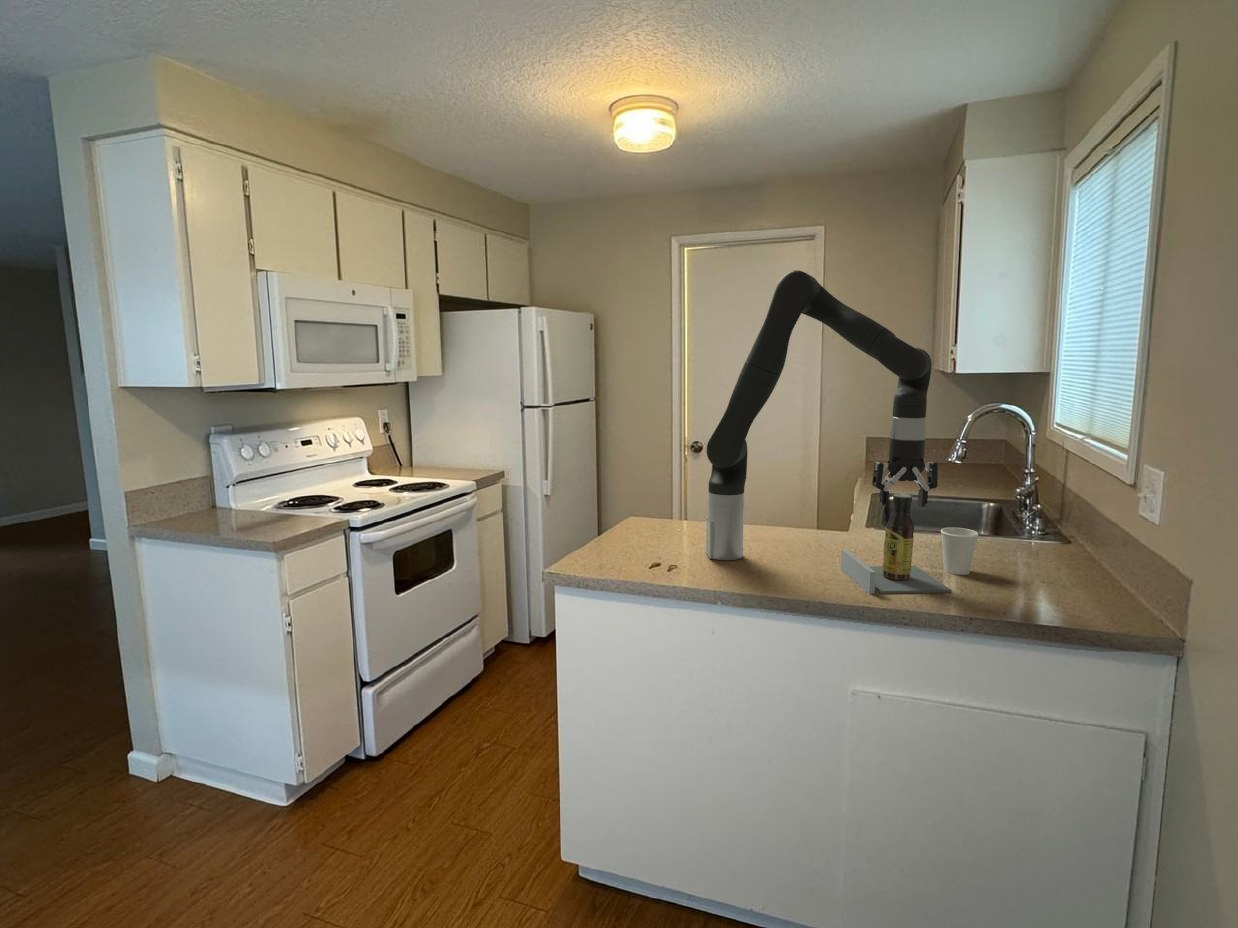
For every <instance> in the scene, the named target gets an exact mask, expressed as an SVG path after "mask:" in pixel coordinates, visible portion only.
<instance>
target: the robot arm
mask: <svg viewBox="0 0 1238 928" xmlns="http://www.w3.org/2000/svg"><path fill="white" fill-rule="evenodd" d="M801 315H804V316H807V317H810V318H812V319H814V320H817V321H818V322H821V323H822V324H823V325H826V326H827V327H829V328H830V329H831V330H833V331H834V332H836V334H838V335H839V336H840V337H842V338H843V339H844V340H845V341H846V342H848V343H849V344H851V345H852V346H853V347H855V348H857V349H858V350H860V351H861V352H863V353H864V354H866V355H868V356H869V357H871V358H873V359H875V360H876V361H878V362H879V363H880V364H881V365H882V366H884V367H885V368H886V369H887V370H889V371H890V372H891V373H892V374H894V375H896V377H898V381H897V382H898V383H897V390H896V392H895V394H894V398H893V405H892V418H891V422H890V431H889V446H888V447H889V451H888V461H887V462H880V461H878V460H877V461H875V462H874V465H873V472H872V473H873V474H872V482H871V485H872V487H874V488H876V489H879V503H880V505H881V507H883V508H888V507H889V505H890V504H889V501H890V500H889V499H890V491H889V490H890V489H891V487H893V485H895V484H896V483H897V482H898V481H899V482H905V481H908V482H915V484H916V485H917V486H918V487H919V489H918V493H917V506H918V507H920V508H924V507H926V505H927V503H928V497H929V491H930V490H932V489H937V488H938V480H939V479H938V471H939V470H938V468H939V467H938V463H937V462H935V461H932V460H931V461H928V462H925V461H924V460H925V459H924V458H925V451H926V439H927V438H926V435H927V421H926V420H927V419H926V418H927V408H928V407H927V405H928V404H927V402H928V401H927V400H928V399H927V398H928V397H927V396H928V391H929V390H928V389H929V386H930V381H931V375H932V359H931V356H930V354H929V353H928V351H926V350H925V349H923V348H919V347H914V346H912V345H910V344H909V343H907V342H905V341H904V340H902V339H901V338H898V337H897V336H896V334H895V333H894V332H892V331H891V330H890V329H888V328H887V327H885V326H884V325H882V324H880V323H879V322H877V321H875V320H874V319H872V318H870V317H869V316H867V315H865V314H863V313H861V312H859V311H857V310H855V309H854V308H851V307H850V306H848V305H847V304H845V303H843V302H842V301H841V300H839V299H838V298H836V297H835V296H834V295H832V294H831V293H830V292H829V291H828V290H827V289H826V288H824V287H823V286H822V285H821V283H819V282H818V280H817V279H816V278H815V277H814V276H812V275H811V274H808V273H807V272H805V271H803V270H792V271H789V272H787V273H786V274H784V275H783V276H782V277H781V278H780V280H779V281H778V282H777V284H776V286H775V290H774V292H773V296H772V299H771V302H770V305H769V307H768V311H767V314H766V316H765V319H764V322H763V324H762V326H761V327H760V330H759V332H758V335H757V337H756V338H755V340H754V343H753V345H752V347H751V349H750V351H749V353H748V355H747V358H746V360H745V361H744V364H743V366H742V368H741V371H740V373H739V375H738V378H737V379H736V383H735V385H734V388H733V391H732V393H731V396H730V398H729V402H728V404H727V407H726V409H725V411H724V414H723V415H722V417H721V419H720V420H719V423H718V424H717V426H716V427H715V430H714V431H713V433H712V435H711V436H710V438H709V439H708V441H707V444H706V457H707V459H708V461H709V462H710V464H711V475H710V477H709V480H708V497H707V500H708V501H707V502H708V503H707V504H708V507H707V518H706V521H705V522H706V523H705V524H706V525H705V526H706V527H705V529H706V531H705V532H706V534H705V538H706V539H705V553H706V555H707V557H708V558H709V559H710V560H719V561H736V560H739V559H742V558H743V556H744V516H745V515H744V513H745V512H744V510H745V508H744V507H745V485H746V481H747V470H748V469H747V468H748V444H747V440H746V439H747V436H748V434H749V431H750V428H751V426H752V424H753V422H754V421H755V420H756V417H757V416H758V414H759V413H760V412H761V410H762V409H763V408H764V406H765V404H766V403H767V402H768V400H769V398H770V397H771V395H772V394H773V391H774V389H775V388H776V386H777V383H778V381H779V379H780V376H781V375H782V372H783V370H784V367H785V365H786V361H787V355H788V349H789V343H790V338H791V336H792V332H793V330H794V328H795V326H796V325H797V322H798V320H799V319H800V317H801ZM886 469H887V470H888V471H889V472H888V474H886V476H885V477H884V476H883V475H884V472H885V471H886ZM924 469H925V471H927V474H926V475H927V476H926V477H927V481H926V479H925V478H924V477H923V475H922V472H923V471H924ZM883 477H884V480H883Z"/></svg>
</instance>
